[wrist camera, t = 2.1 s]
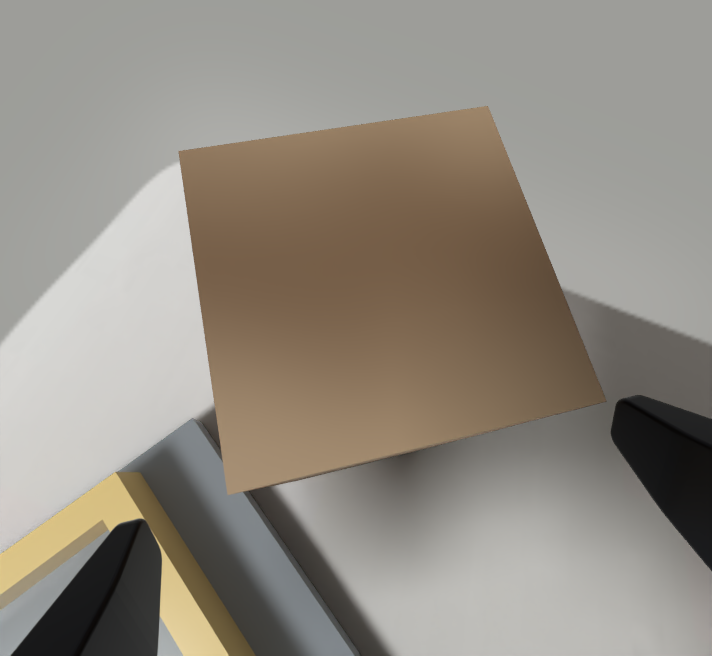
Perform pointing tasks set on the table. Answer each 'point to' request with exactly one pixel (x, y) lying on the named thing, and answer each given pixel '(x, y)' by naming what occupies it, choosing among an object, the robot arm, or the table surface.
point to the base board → (180, 560)
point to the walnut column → (373, 296)
